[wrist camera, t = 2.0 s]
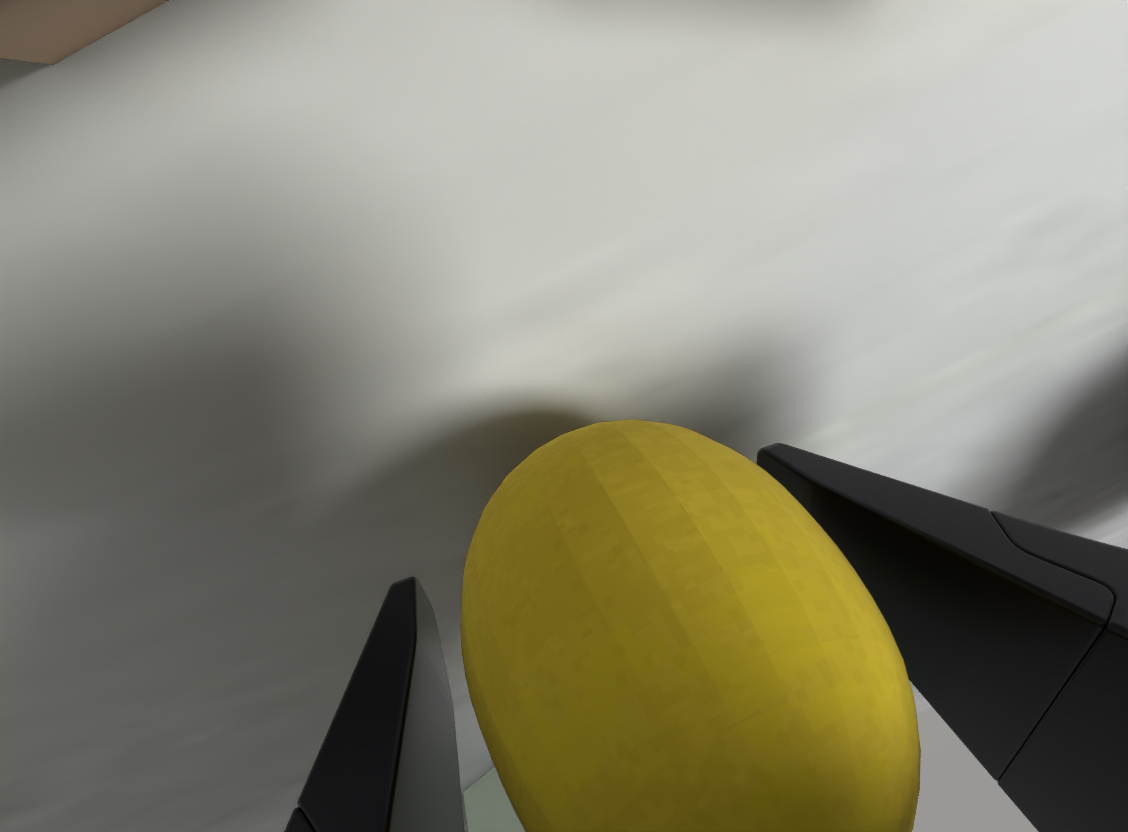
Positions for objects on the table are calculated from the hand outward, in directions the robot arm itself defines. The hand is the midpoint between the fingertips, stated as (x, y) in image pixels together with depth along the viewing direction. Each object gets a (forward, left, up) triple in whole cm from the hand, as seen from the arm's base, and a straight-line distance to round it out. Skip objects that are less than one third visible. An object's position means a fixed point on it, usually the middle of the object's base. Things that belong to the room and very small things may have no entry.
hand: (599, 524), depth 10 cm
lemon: (0, 0, -2) cm, 2 cm away
